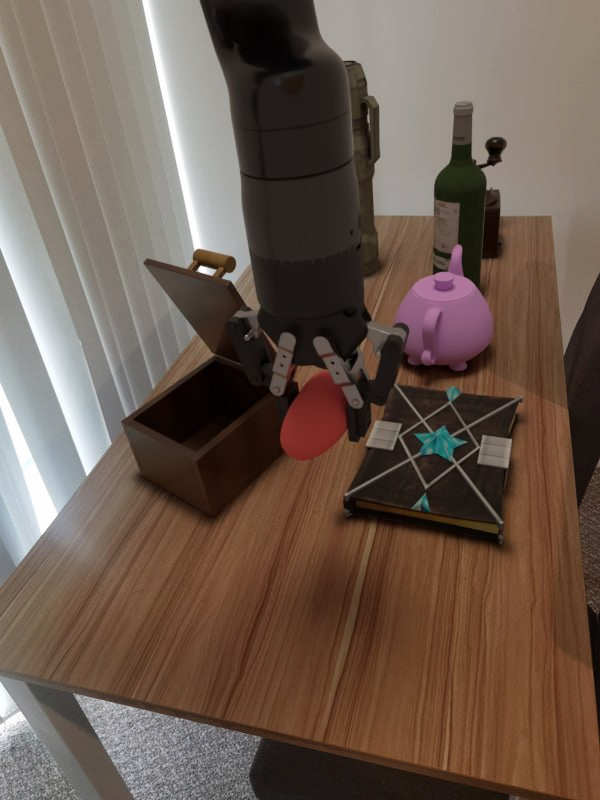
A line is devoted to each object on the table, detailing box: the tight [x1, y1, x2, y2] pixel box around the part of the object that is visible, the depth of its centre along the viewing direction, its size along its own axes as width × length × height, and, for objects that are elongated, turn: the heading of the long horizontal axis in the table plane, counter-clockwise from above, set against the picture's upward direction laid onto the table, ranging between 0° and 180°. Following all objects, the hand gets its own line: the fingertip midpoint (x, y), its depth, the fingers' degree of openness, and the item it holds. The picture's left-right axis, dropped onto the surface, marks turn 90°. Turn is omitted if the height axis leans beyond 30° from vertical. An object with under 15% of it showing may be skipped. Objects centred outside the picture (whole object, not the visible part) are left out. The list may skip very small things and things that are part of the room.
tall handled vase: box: [343, 59, 381, 278], centre depth 105 cm, size 9×12×35 cm
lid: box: [142, 248, 277, 364], centre depth 70 cm, size 17×13×5 cm
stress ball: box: [280, 370, 348, 462], centre depth 49 cm, size 5×9×6 cm, turn 145°
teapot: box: [393, 245, 494, 372], centre depth 86 cm, size 20×14×12 cm
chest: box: [120, 354, 285, 518], centre depth 74 cm, size 16×13×9 cm
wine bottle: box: [432, 100, 488, 291], centre depth 94 cm, size 8×8×30 cm
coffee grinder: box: [472, 136, 508, 259], centre depth 113 cm, size 16×11×18 cm
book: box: [342, 382, 524, 546], centre depth 70 cm, size 22×17×5 cm
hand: (325, 429), depth 49 cm, fingers closed on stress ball, 5 cm apart
